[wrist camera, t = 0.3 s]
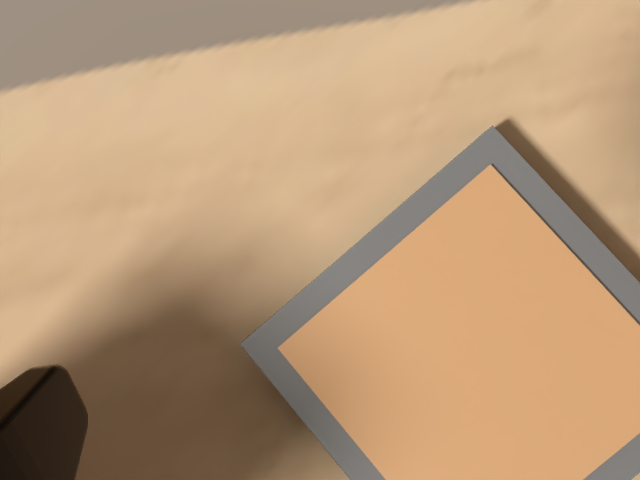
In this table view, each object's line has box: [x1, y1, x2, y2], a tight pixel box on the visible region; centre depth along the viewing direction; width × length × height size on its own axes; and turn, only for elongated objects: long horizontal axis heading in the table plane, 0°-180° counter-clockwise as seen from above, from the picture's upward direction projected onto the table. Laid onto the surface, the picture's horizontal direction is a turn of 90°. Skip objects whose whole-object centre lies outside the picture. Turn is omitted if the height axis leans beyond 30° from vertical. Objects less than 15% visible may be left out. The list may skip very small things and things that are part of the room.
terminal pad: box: [240, 125, 640, 480], centre depth 22 cm, size 12×12×1 cm
